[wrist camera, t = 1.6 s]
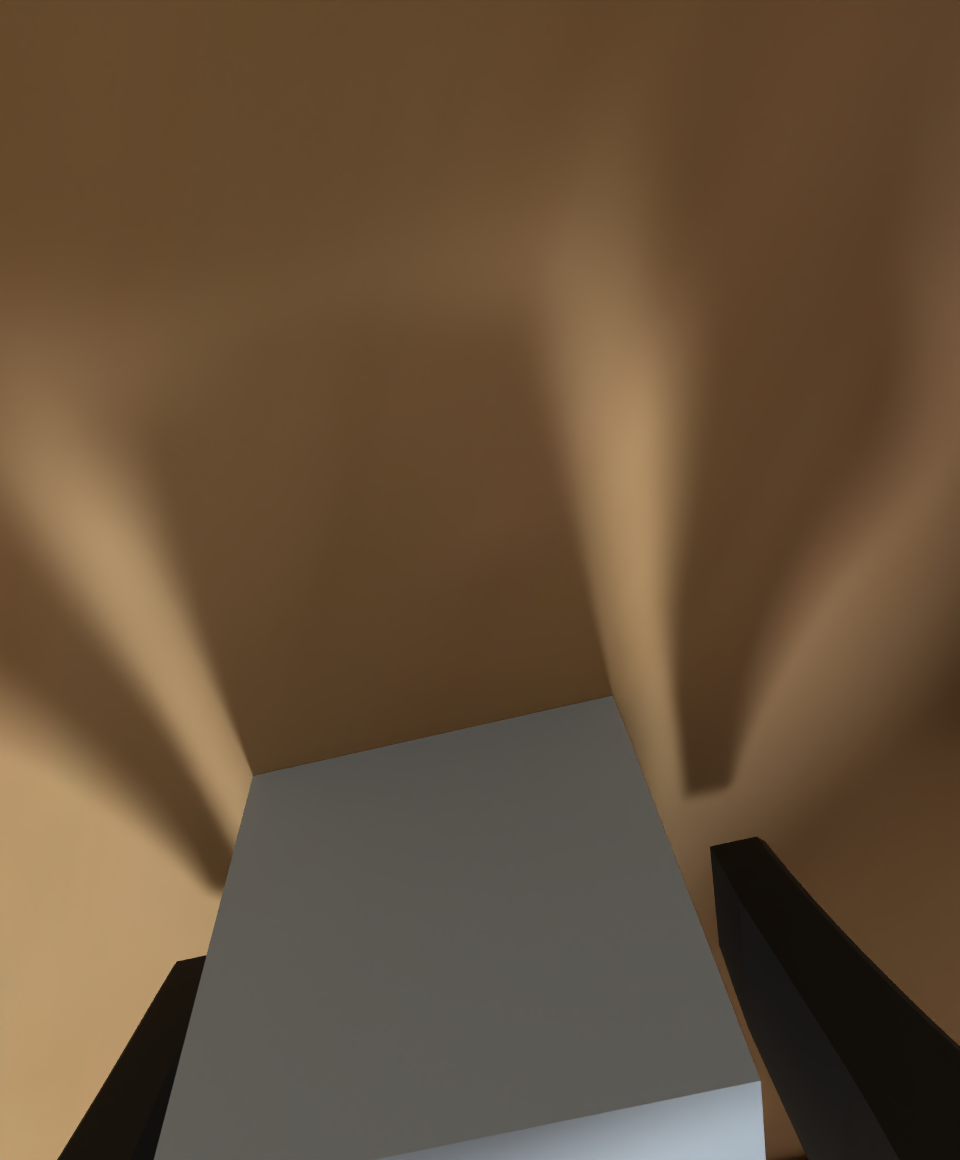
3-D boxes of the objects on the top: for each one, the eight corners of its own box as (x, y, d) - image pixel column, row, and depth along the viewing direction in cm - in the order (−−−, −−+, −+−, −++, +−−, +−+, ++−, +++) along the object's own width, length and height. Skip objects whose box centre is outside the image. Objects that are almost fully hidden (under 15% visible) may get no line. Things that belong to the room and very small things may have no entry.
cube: (649, 926, 13) (775, 1327, 8) (358, 988, 13) (332, 1412, 8) (611, 692, 10) (761, 1080, 6) (254, 771, 10) (141, 1208, 6)
